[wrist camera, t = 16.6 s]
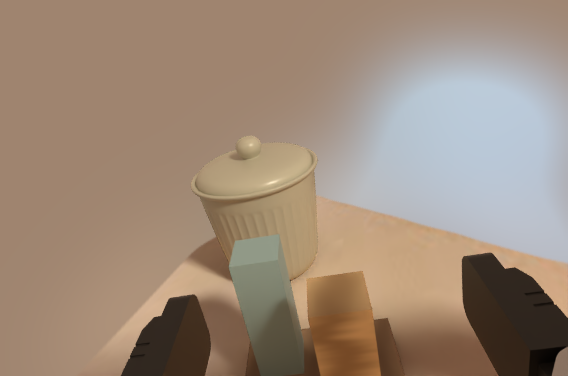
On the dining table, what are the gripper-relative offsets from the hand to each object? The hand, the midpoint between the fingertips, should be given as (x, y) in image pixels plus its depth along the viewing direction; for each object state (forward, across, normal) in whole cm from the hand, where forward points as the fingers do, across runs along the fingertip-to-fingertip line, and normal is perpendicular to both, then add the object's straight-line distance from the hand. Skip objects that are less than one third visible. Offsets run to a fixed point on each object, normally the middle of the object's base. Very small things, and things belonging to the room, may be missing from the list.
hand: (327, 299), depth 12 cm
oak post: (+15, 0, +26) cm, 30 cm away
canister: (+44, +9, +28) cm, 53 cm away
